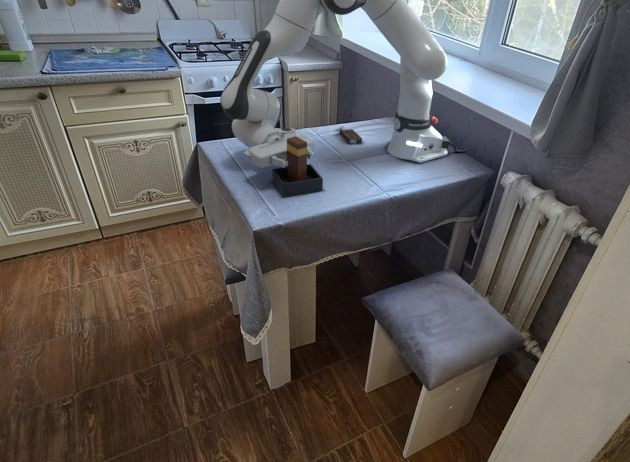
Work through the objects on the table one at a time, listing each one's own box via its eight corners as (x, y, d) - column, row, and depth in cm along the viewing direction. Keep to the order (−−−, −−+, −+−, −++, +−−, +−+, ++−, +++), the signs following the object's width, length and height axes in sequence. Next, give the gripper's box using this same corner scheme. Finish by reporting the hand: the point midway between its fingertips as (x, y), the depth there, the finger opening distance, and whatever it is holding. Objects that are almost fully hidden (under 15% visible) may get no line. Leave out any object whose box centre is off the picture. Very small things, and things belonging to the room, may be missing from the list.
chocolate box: (295, 179, 131) (295, 135, 123) (306, 185, 128) (307, 142, 120) (287, 182, 129) (286, 138, 121) (297, 189, 126) (298, 144, 118)
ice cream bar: (334, 129, 167) (350, 145, 157) (335, 125, 166) (350, 140, 156) (347, 128, 170) (363, 143, 159) (347, 124, 169) (363, 139, 158)
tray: (310, 175, 135) (310, 163, 132) (322, 190, 128) (322, 178, 126) (272, 181, 130) (272, 168, 127) (282, 197, 123) (282, 184, 120)
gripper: (239, 141, 122) (269, 159, 115) (296, 126, 135) (326, 141, 128) (241, 161, 126) (269, 180, 118) (296, 145, 139) (325, 161, 132)
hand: (299, 160), depth 123 cm, fingers open, 8 cm apart
